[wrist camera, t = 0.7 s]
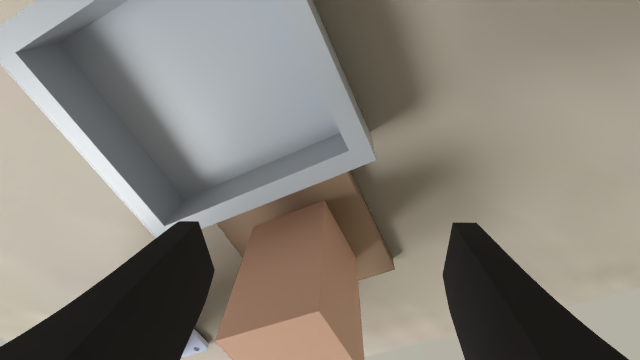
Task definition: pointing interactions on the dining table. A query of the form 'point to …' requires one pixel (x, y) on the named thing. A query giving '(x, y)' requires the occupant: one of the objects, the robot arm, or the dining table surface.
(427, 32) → the dining table surface
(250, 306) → the salmon brown block
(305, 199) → the stud plate
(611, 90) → the dining table surface
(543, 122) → the dining table surface
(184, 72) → the bin
